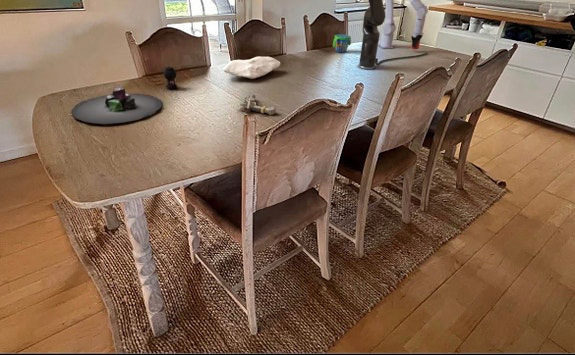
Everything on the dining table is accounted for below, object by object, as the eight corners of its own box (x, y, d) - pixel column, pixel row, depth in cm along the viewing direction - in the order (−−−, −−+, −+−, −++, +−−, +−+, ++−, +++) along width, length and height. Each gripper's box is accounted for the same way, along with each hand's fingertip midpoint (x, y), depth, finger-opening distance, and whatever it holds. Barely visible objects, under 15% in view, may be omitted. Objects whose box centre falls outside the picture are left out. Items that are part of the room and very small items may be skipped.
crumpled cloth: (210, 71, 195) (210, 54, 190) (264, 61, 214) (265, 46, 208) (233, 90, 182) (233, 73, 176) (288, 78, 201) (290, 62, 195)
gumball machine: (165, 90, 172) (162, 69, 166) (163, 86, 176) (159, 65, 171) (180, 88, 175) (177, 67, 169) (177, 85, 179) (174, 64, 174)
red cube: (416, 49, 253) (417, 42, 250) (409, 48, 255) (411, 41, 253) (419, 48, 256) (421, 41, 253) (413, 47, 259) (414, 40, 256)
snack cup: (344, 48, 256) (346, 33, 251) (354, 52, 249) (356, 36, 243) (327, 50, 249) (328, 35, 243) (337, 54, 241) (338, 38, 236)
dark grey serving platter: (174, 113, 149) (170, 91, 144) (79, 131, 131) (72, 107, 127) (148, 93, 173) (144, 73, 169) (65, 106, 156) (59, 85, 151)
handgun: (275, 94, 165) (242, 93, 164) (275, 109, 150) (239, 108, 149) (275, 100, 167) (242, 99, 166) (275, 115, 152) (239, 114, 151)
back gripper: (422, 28, 241) (417, 49, 248) (427, 25, 251) (423, 45, 258) (411, 26, 244) (407, 47, 251) (417, 23, 254) (413, 43, 261)
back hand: (414, 46), depth 255 cm, fingers closed on red cube, 5 cm apart
